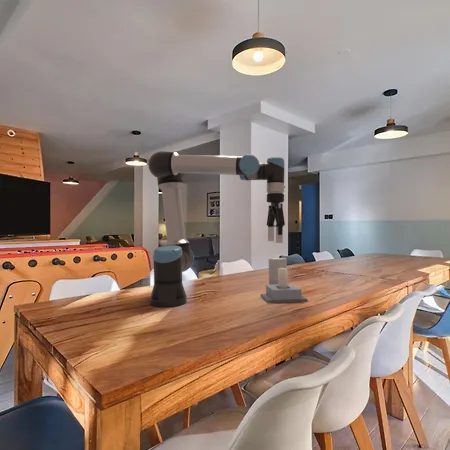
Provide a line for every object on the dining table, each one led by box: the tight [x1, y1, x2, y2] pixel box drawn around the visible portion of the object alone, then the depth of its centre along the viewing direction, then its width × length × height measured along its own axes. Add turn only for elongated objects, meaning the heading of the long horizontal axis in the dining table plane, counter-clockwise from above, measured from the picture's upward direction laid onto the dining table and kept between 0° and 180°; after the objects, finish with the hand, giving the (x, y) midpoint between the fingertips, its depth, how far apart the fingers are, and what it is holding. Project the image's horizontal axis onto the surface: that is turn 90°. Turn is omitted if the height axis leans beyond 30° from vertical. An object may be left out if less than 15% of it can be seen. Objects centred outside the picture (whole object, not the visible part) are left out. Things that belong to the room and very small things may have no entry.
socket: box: [260, 283, 308, 304], centre depth 131 cm, size 17×12×5 cm
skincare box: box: [268, 257, 288, 285], centre depth 149 cm, size 8×7×16 cm
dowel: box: [278, 267, 289, 289], centre depth 131 cm, size 4×4×12 cm
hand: (274, 242), depth 132 cm, fingers open, 13 cm apart
